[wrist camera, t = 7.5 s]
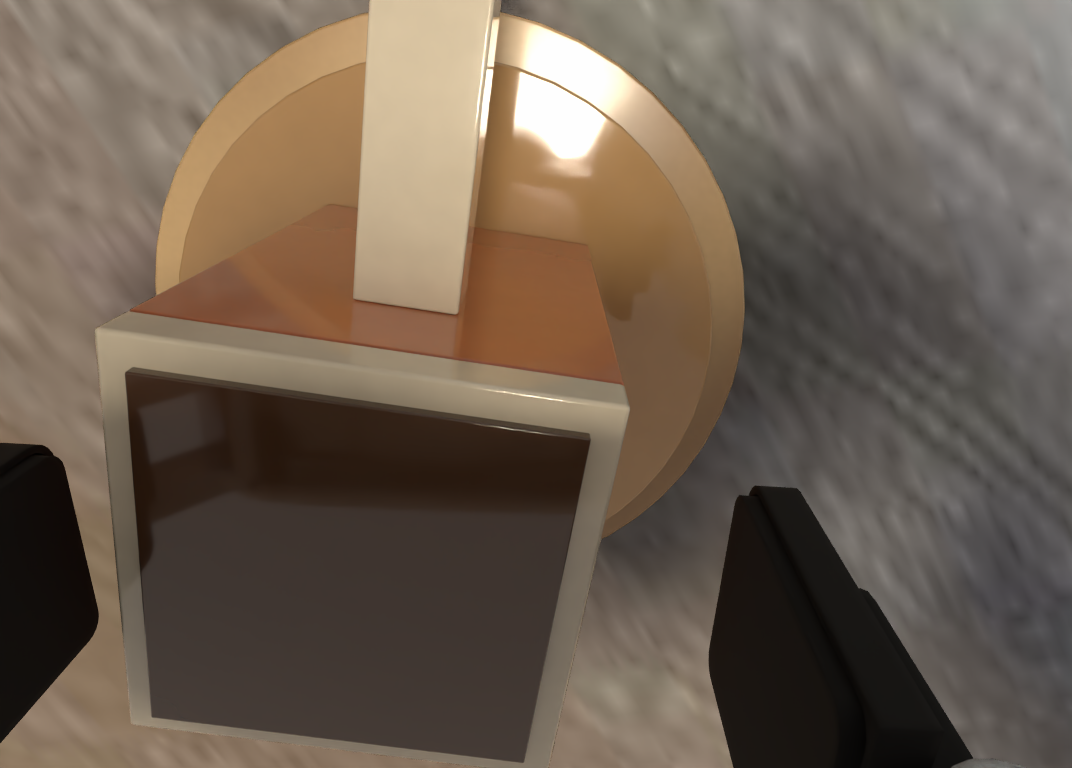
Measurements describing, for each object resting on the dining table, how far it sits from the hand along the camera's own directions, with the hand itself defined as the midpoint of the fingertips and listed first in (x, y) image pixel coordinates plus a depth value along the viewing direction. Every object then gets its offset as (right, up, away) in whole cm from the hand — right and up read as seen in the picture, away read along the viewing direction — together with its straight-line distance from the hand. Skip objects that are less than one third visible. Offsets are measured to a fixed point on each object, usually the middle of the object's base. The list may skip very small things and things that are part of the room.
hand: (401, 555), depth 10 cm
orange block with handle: (0, +5, +7) cm, 9 cm away
